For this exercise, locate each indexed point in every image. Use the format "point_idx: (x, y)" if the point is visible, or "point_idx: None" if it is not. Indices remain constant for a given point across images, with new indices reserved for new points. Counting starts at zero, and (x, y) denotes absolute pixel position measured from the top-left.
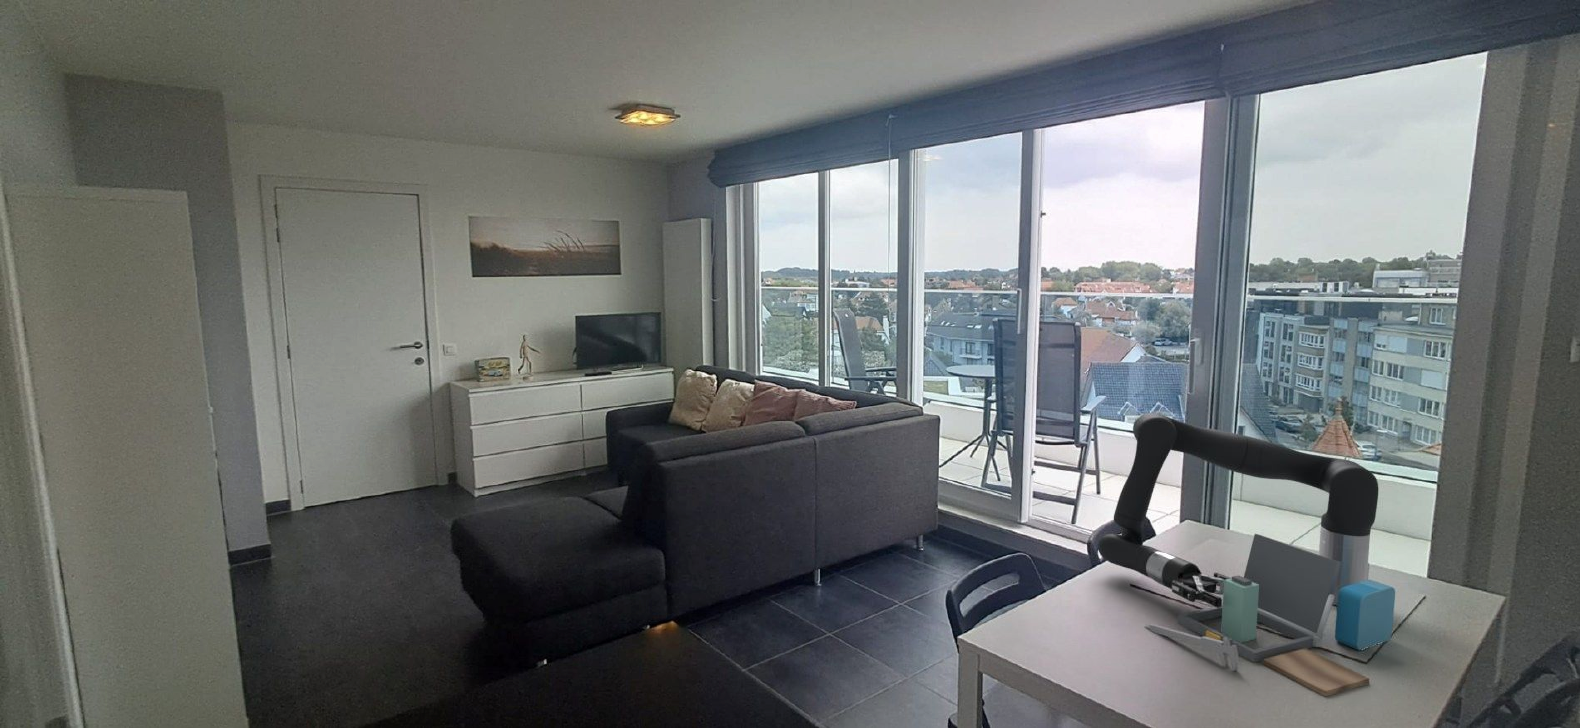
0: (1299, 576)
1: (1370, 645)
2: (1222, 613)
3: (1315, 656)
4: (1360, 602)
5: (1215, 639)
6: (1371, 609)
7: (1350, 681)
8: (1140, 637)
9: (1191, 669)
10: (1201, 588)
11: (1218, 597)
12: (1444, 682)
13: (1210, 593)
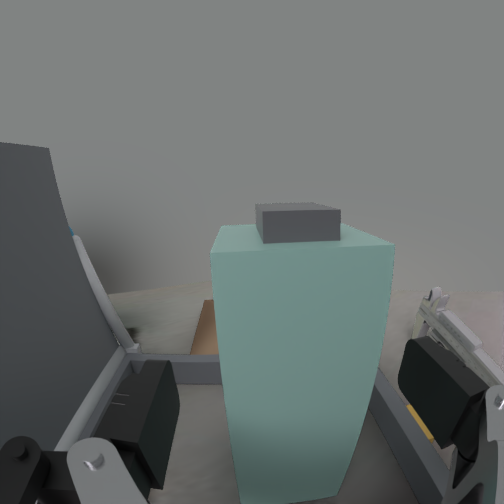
0: (9, 235)
1: None
2: (356, 443)
3: (208, 339)
4: (73, 234)
5: (455, 324)
6: None
7: None
8: None
9: (488, 346)
10: (499, 423)
11: (423, 340)
12: (115, 295)
13: (454, 374)
